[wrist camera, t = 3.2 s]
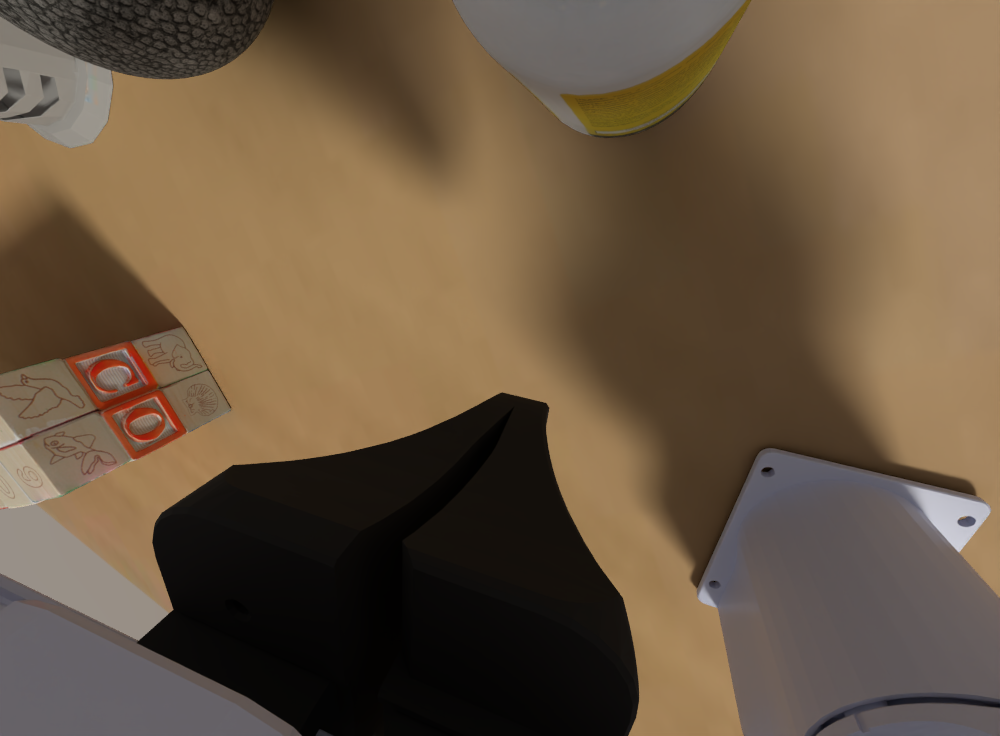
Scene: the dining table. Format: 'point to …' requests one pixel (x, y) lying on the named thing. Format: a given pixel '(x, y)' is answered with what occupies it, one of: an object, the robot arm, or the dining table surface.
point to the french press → (51, 89)
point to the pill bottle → (606, 54)
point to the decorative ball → (144, 32)
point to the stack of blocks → (99, 413)
